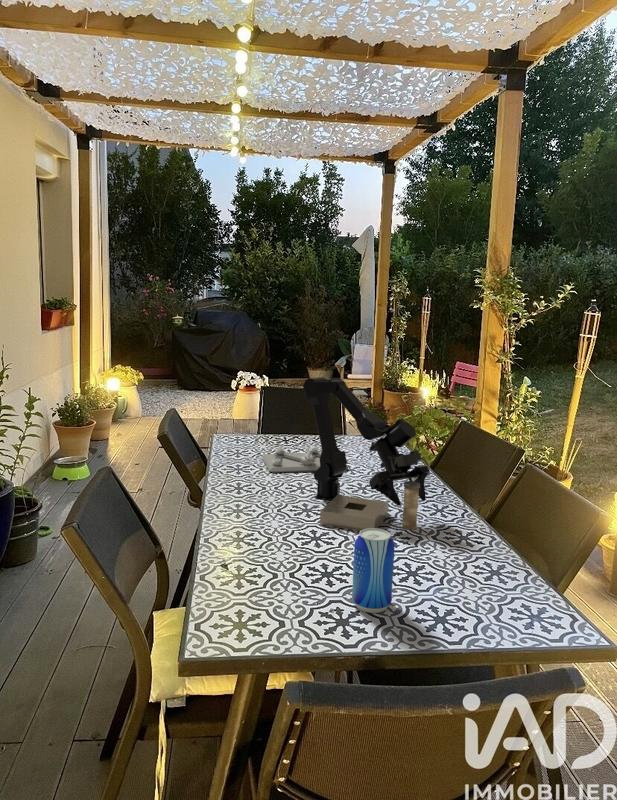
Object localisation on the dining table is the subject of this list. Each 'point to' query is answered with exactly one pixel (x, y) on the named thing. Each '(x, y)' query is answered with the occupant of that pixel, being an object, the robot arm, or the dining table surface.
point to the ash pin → (410, 504)
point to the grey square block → (354, 513)
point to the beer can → (373, 570)
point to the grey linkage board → (292, 461)
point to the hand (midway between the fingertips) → (412, 502)
